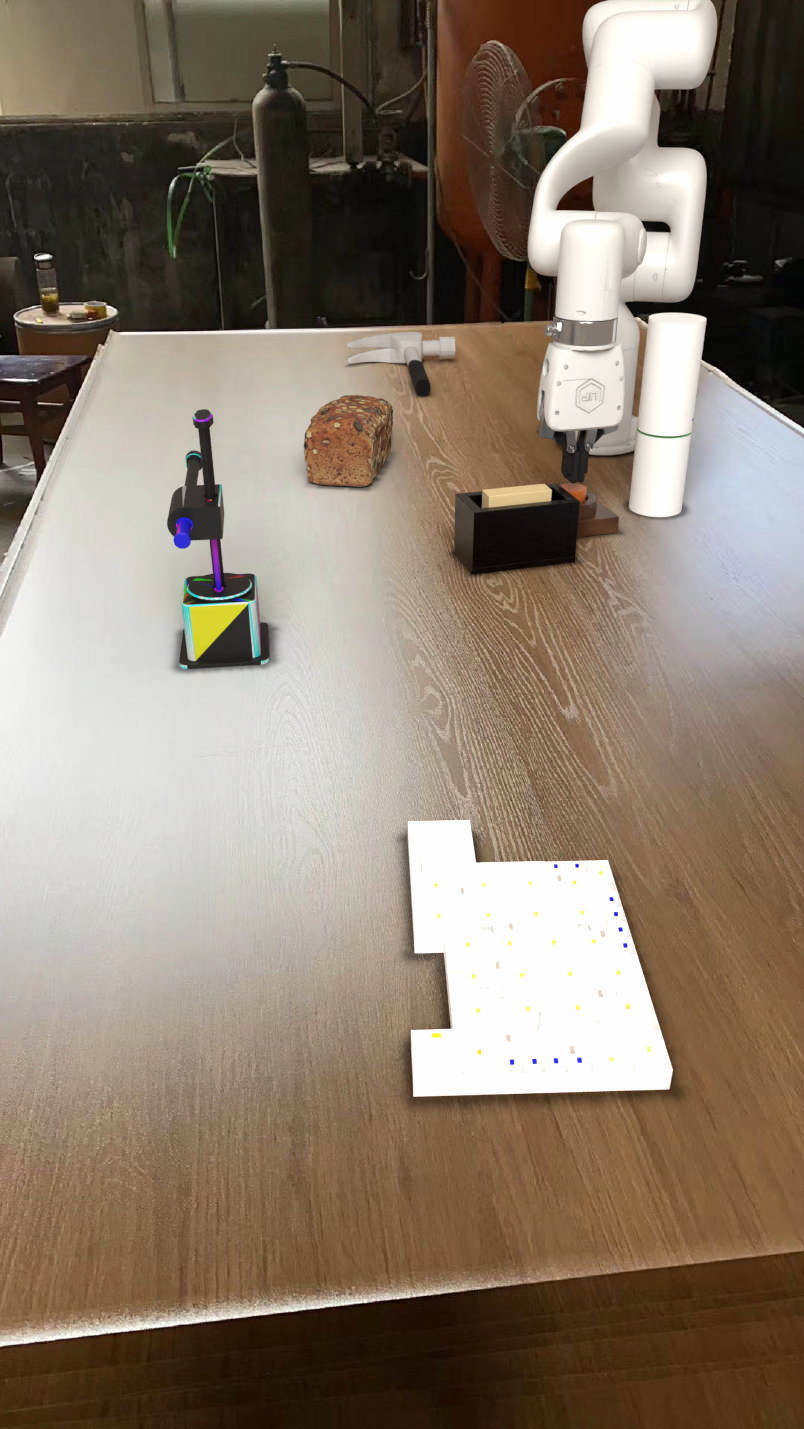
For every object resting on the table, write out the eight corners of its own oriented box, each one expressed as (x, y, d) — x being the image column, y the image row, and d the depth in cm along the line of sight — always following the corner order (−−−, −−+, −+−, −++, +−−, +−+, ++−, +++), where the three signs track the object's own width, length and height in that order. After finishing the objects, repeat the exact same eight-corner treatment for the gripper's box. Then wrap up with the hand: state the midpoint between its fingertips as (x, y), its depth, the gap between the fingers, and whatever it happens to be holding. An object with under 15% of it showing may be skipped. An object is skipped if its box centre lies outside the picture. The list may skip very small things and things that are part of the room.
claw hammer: (473, 371, 200) (452, 330, 225) (353, 374, 198) (346, 333, 223) (473, 400, 203) (452, 357, 228) (354, 404, 201) (346, 360, 226)
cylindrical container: (684, 502, 152) (709, 314, 139) (678, 519, 146) (703, 325, 133) (632, 496, 154) (652, 311, 141) (624, 513, 148) (644, 321, 135)
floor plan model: (413, 1096, 64) (413, 1074, 63) (400, 838, 86) (400, 819, 85) (669, 1089, 65) (673, 1067, 64) (592, 834, 86) (594, 815, 85)
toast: (540, 545, 136) (544, 483, 132) (548, 552, 134) (552, 489, 130) (480, 551, 134) (482, 489, 130) (486, 559, 132) (489, 496, 128)
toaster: (553, 542, 139) (557, 483, 135) (575, 562, 134) (580, 501, 130) (453, 553, 136) (455, 493, 132) (472, 574, 130) (474, 512, 126)
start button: (578, 494, 144) (580, 481, 143) (590, 503, 141) (591, 490, 140) (553, 497, 143) (554, 484, 142) (564, 506, 140) (565, 493, 139)
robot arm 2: (269, 678, 108) (251, 435, 96) (177, 683, 108) (146, 439, 95) (267, 578, 130) (251, 369, 117) (190, 582, 129) (166, 372, 116)
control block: (591, 512, 149) (594, 483, 146) (617, 532, 142) (620, 503, 140) (523, 519, 146) (525, 491, 144) (546, 541, 140) (548, 511, 138)
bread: (373, 490, 157) (372, 421, 152) (301, 486, 158) (297, 417, 153) (396, 451, 172) (395, 387, 167) (330, 448, 174) (328, 385, 169)
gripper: (539, 342, 126) (530, 494, 136) (655, 334, 130) (639, 483, 139) (515, 329, 133) (508, 476, 142) (627, 322, 136) (613, 466, 146)
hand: (573, 479), depth 141 cm, fingers closed
